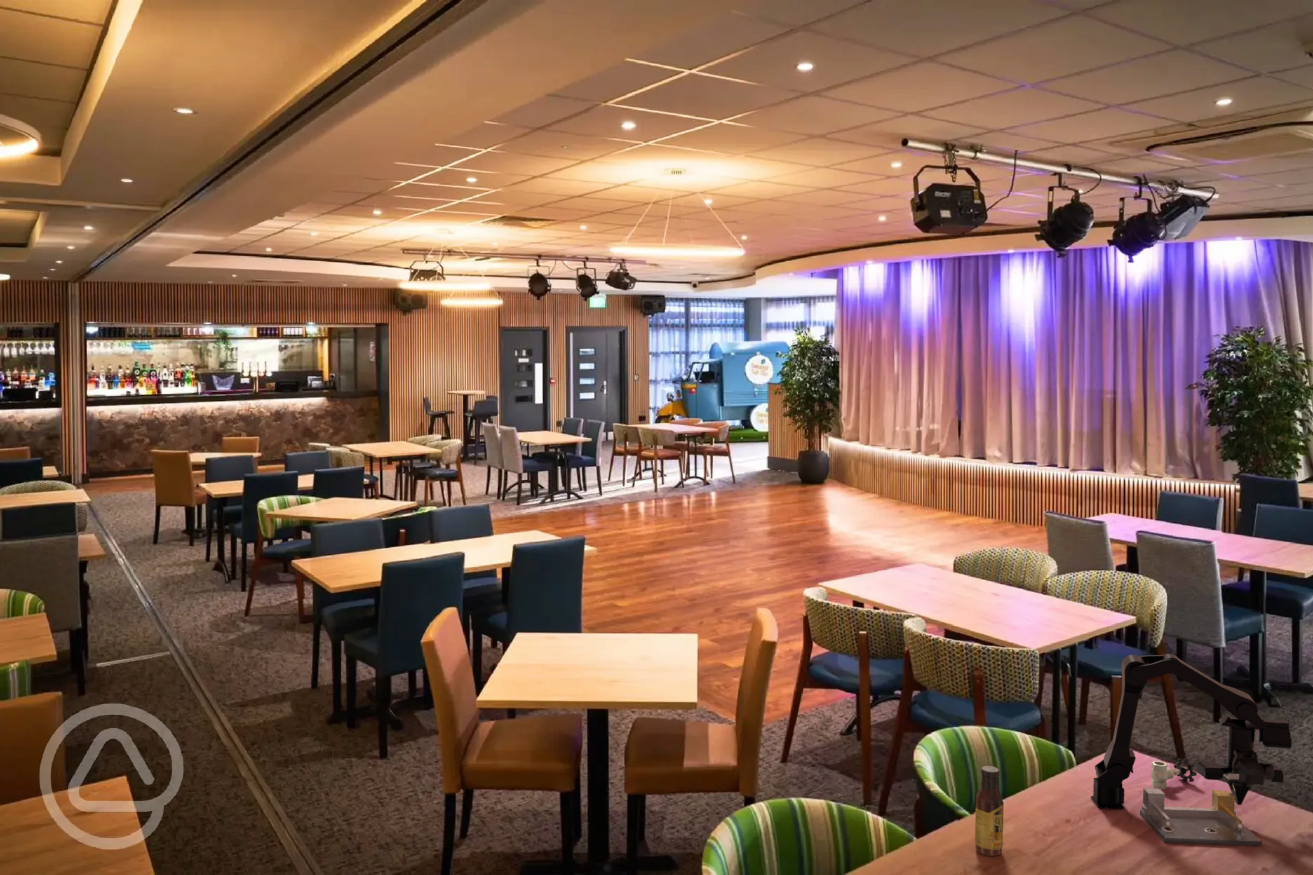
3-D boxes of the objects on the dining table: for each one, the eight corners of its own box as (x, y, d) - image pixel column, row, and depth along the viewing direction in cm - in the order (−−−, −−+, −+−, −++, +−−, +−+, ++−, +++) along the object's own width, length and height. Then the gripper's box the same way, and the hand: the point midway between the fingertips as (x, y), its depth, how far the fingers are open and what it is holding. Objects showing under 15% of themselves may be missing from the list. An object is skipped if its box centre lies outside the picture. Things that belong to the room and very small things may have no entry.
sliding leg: (1232, 831, 233) (1232, 808, 233) (1211, 811, 244) (1212, 790, 243) (1249, 831, 233) (1250, 809, 233) (1228, 812, 243) (1228, 790, 243)
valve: (1163, 792, 259) (1196, 786, 263) (1163, 769, 258) (1197, 762, 262) (1143, 783, 265) (1176, 776, 269) (1143, 759, 264) (1176, 753, 268)
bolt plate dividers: (1164, 842, 231) (1165, 813, 231) (1139, 814, 246) (1140, 787, 246) (1261, 846, 229) (1262, 817, 228) (1230, 817, 244) (1231, 789, 243)
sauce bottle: (999, 860, 223) (1000, 777, 222) (971, 853, 227) (973, 771, 225) (1005, 848, 229) (1006, 767, 228) (978, 841, 232) (979, 761, 231)
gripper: (1217, 755, 233) (1214, 817, 234) (1298, 757, 232) (1295, 820, 233) (1196, 737, 244) (1193, 797, 245) (1273, 740, 243) (1271, 800, 244)
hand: (1238, 804), depth 242 cm, fingers closed
